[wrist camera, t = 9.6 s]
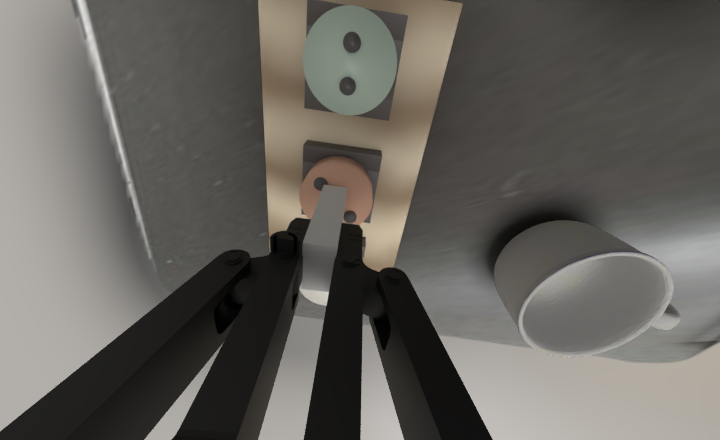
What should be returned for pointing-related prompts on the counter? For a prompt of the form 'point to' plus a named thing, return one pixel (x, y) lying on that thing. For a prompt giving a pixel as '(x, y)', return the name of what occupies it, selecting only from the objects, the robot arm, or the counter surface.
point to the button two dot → (349, 60)
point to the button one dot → (316, 296)
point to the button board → (356, 132)
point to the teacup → (581, 289)
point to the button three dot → (342, 175)
